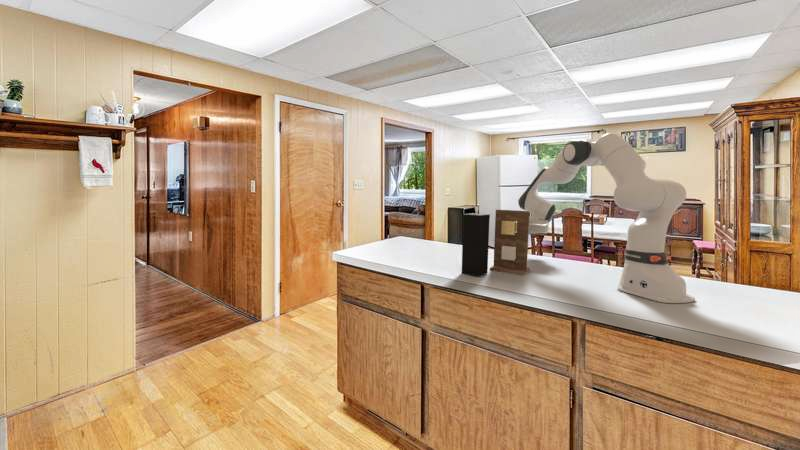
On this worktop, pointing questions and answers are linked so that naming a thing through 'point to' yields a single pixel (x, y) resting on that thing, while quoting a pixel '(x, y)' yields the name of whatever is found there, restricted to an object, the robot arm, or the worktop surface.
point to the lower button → (508, 253)
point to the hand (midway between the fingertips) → (521, 228)
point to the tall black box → (475, 243)
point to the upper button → (508, 227)
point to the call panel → (511, 242)
